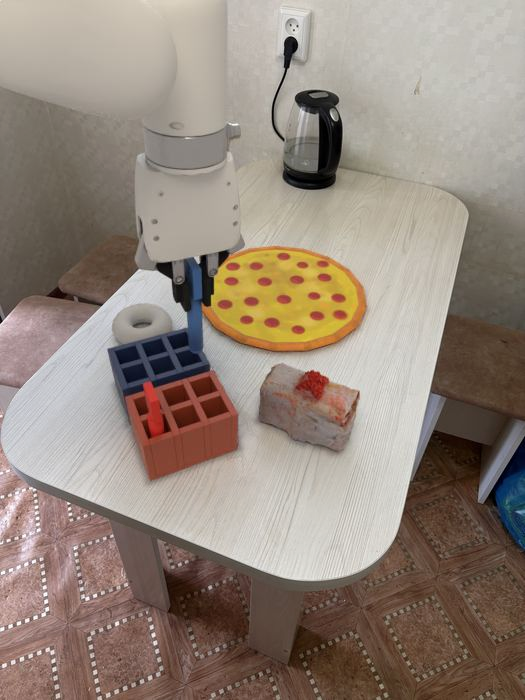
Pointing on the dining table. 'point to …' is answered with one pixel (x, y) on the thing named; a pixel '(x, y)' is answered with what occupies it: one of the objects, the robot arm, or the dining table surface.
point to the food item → (308, 406)
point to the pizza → (285, 299)
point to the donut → (140, 314)
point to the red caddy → (185, 424)
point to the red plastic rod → (153, 411)
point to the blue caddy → (154, 363)
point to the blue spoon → (194, 305)
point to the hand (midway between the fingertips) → (193, 301)
